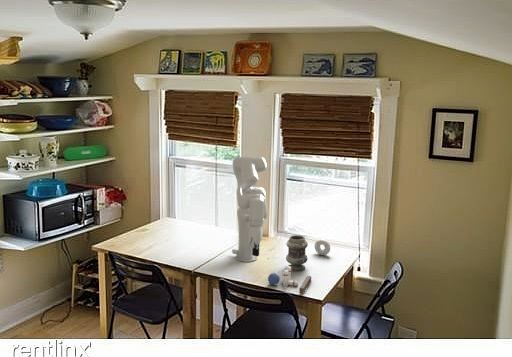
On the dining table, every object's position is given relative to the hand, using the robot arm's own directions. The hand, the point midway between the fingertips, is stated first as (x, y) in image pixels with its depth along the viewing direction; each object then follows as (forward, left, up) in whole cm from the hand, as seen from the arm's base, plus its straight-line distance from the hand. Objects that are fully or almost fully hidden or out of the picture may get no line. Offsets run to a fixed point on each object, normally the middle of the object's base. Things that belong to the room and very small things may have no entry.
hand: (255, 255), depth 256 cm
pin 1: (+17, -3, -13) cm, 22 cm away
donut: (+25, +48, -13) cm, 56 cm away
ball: (+11, -3, -10) cm, 15 cm away
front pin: (+15, -1, -12) cm, 19 cm away
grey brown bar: (+27, 0, -13) cm, 30 cm away
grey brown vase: (+16, +23, -13) cm, 31 cm away
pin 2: (+17, +2, -13) cm, 22 cm away
